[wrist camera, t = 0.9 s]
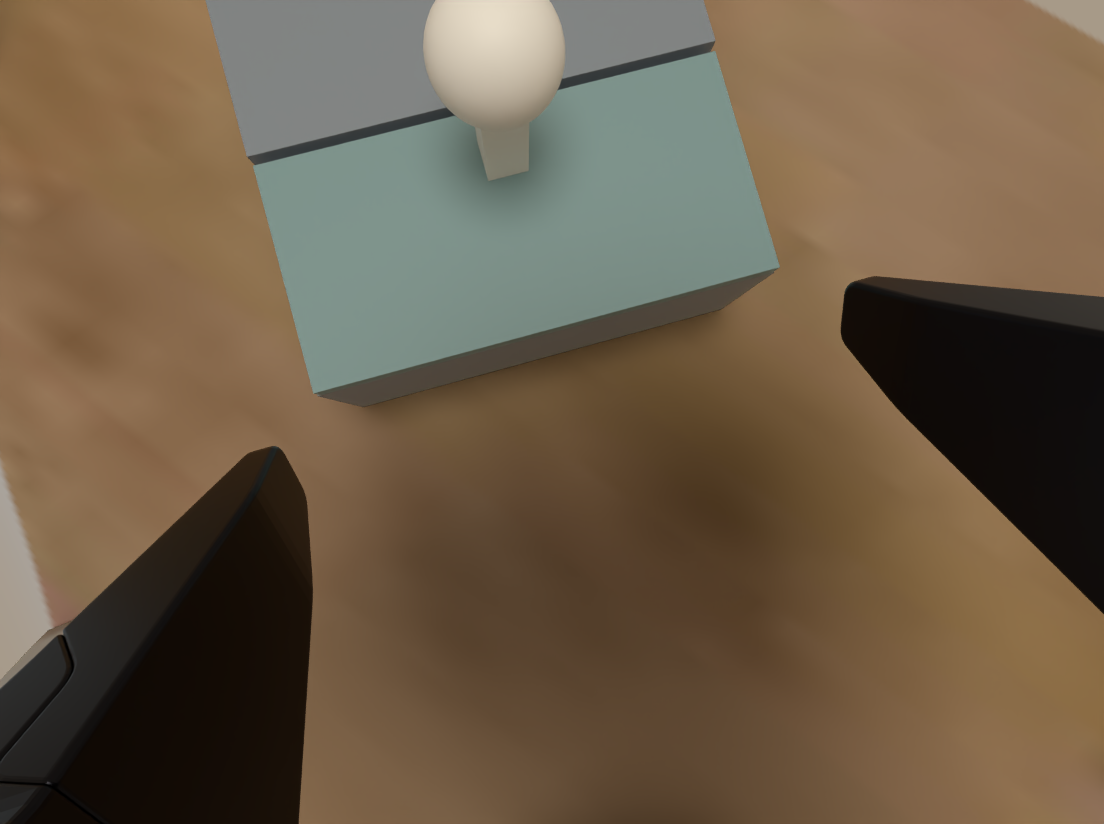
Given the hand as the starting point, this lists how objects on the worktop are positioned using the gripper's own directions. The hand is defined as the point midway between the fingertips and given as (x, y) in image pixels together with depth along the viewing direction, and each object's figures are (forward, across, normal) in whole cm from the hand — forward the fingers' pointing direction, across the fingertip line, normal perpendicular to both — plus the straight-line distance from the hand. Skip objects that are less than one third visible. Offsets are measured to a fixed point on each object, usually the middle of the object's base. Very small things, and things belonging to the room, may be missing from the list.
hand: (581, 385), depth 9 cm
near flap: (+10, -1, +1) cm, 10 cm away
